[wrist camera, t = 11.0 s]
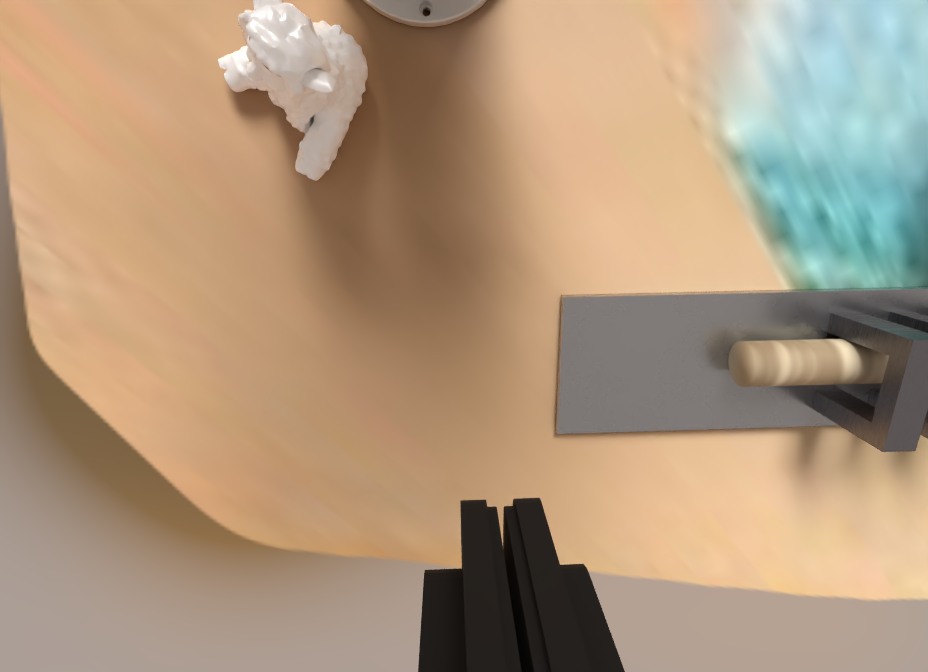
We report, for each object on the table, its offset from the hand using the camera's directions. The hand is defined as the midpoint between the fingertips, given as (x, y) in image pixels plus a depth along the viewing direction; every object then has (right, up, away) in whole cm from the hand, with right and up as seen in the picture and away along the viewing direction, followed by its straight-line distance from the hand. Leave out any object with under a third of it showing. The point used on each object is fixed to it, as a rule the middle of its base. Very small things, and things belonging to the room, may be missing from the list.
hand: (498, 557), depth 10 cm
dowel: (+33, +3, +30) cm, 45 cm away
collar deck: (+27, +3, +31) cm, 41 cm away
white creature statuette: (-11, +22, +24) cm, 34 cm away
